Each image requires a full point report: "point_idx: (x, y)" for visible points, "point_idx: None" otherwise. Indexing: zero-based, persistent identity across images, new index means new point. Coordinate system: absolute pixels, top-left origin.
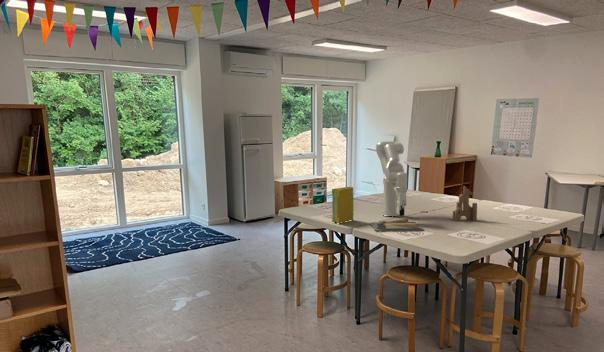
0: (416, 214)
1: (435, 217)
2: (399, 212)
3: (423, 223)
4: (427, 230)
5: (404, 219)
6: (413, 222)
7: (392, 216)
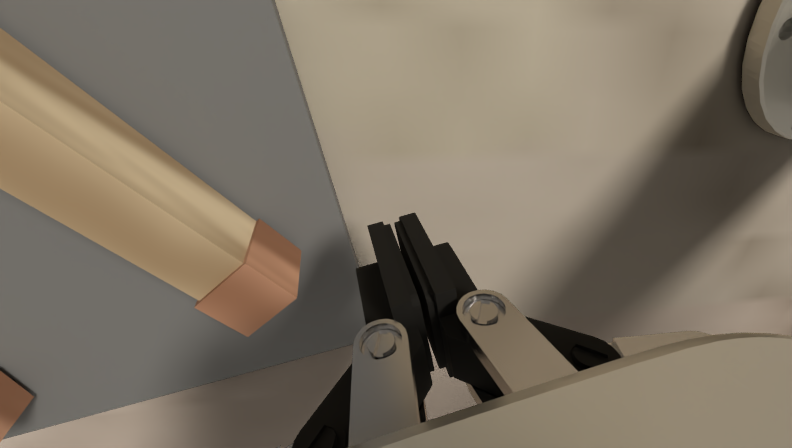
0: (750, 305)
1: None
2: (422, 243)
3: None
4: (61, 440)
5: (179, 287)
6: (334, 328)
7: (755, 37)
